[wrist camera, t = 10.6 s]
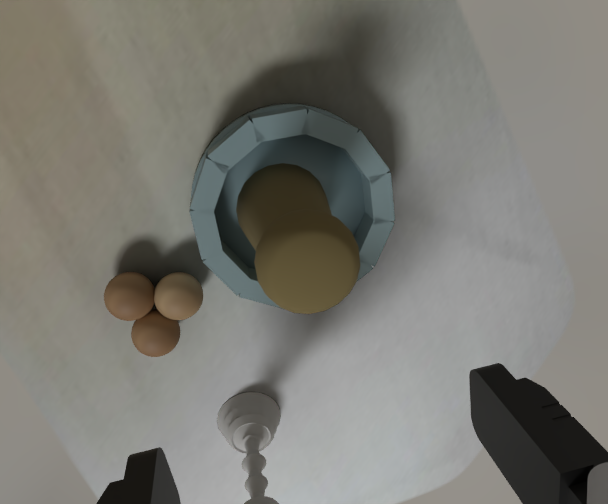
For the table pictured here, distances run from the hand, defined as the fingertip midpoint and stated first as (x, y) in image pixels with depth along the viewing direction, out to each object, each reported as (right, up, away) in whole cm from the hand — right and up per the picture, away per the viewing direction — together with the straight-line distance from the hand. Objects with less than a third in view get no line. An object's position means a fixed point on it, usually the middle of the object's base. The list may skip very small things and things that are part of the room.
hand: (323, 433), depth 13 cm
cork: (-2, +7, +21) cm, 22 cm away
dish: (-1, +8, +22) cm, 23 cm away
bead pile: (-11, +1, +23) cm, 25 cm away
